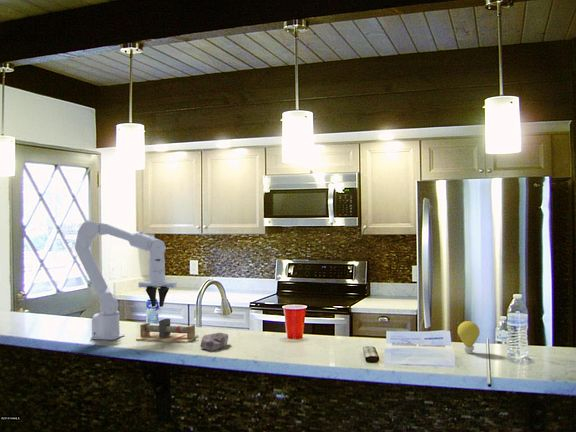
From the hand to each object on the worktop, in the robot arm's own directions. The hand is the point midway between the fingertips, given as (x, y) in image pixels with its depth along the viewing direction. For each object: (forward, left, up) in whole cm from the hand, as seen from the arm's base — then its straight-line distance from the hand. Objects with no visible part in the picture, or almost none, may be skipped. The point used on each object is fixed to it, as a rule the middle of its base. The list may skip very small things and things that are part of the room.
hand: (157, 306), depth 220 cm
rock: (+29, -16, -11) cm, 35 cm away
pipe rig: (+8, -7, -10) cm, 15 cm away
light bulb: (+113, -7, -11) cm, 113 cm away
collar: (+7, -7, -10) cm, 14 cm away
